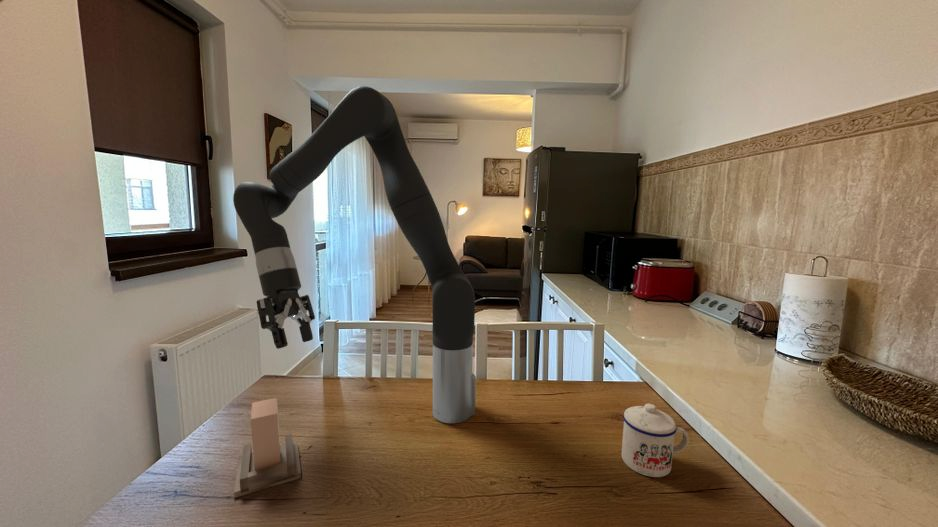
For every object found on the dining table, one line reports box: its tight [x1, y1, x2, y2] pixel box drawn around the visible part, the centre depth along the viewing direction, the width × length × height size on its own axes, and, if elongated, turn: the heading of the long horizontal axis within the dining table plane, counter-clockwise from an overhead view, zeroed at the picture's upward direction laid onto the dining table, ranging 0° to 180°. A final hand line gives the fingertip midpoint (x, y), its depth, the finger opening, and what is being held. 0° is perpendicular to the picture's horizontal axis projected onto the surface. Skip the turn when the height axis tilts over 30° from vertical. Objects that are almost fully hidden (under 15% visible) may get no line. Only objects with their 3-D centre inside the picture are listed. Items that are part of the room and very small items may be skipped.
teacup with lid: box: [621, 403, 690, 478], centre depth 69 cm, size 12×9×12 cm
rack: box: [233, 433, 302, 498], centre depth 67 cm, size 10×10×3 cm
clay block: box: [250, 397, 281, 471], centre depth 66 cm, size 4×6×11 cm, turn 28°
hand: (296, 344), depth 78 cm, fingers open, 8 cm apart
